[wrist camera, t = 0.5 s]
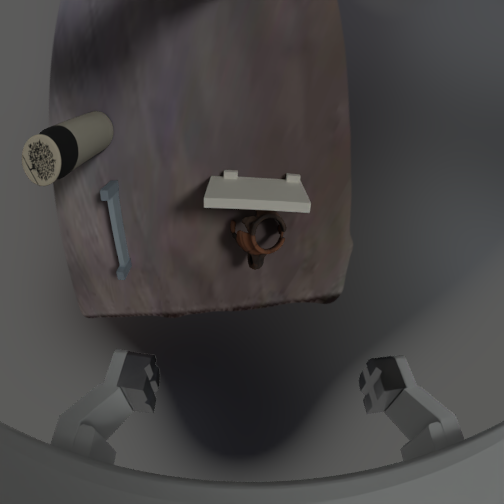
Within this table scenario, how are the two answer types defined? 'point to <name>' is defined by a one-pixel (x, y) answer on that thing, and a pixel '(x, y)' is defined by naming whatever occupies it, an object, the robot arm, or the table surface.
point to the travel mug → (65, 147)
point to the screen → (256, 193)
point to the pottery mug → (248, 239)
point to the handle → (117, 227)
